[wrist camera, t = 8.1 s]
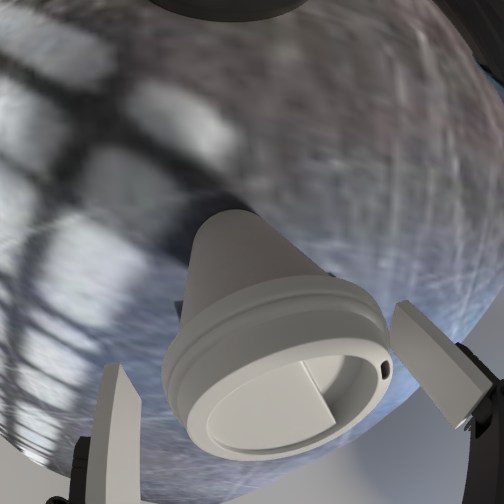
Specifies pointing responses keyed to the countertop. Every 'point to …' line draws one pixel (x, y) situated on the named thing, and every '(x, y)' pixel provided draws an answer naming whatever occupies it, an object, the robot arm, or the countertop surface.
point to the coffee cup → (270, 346)
